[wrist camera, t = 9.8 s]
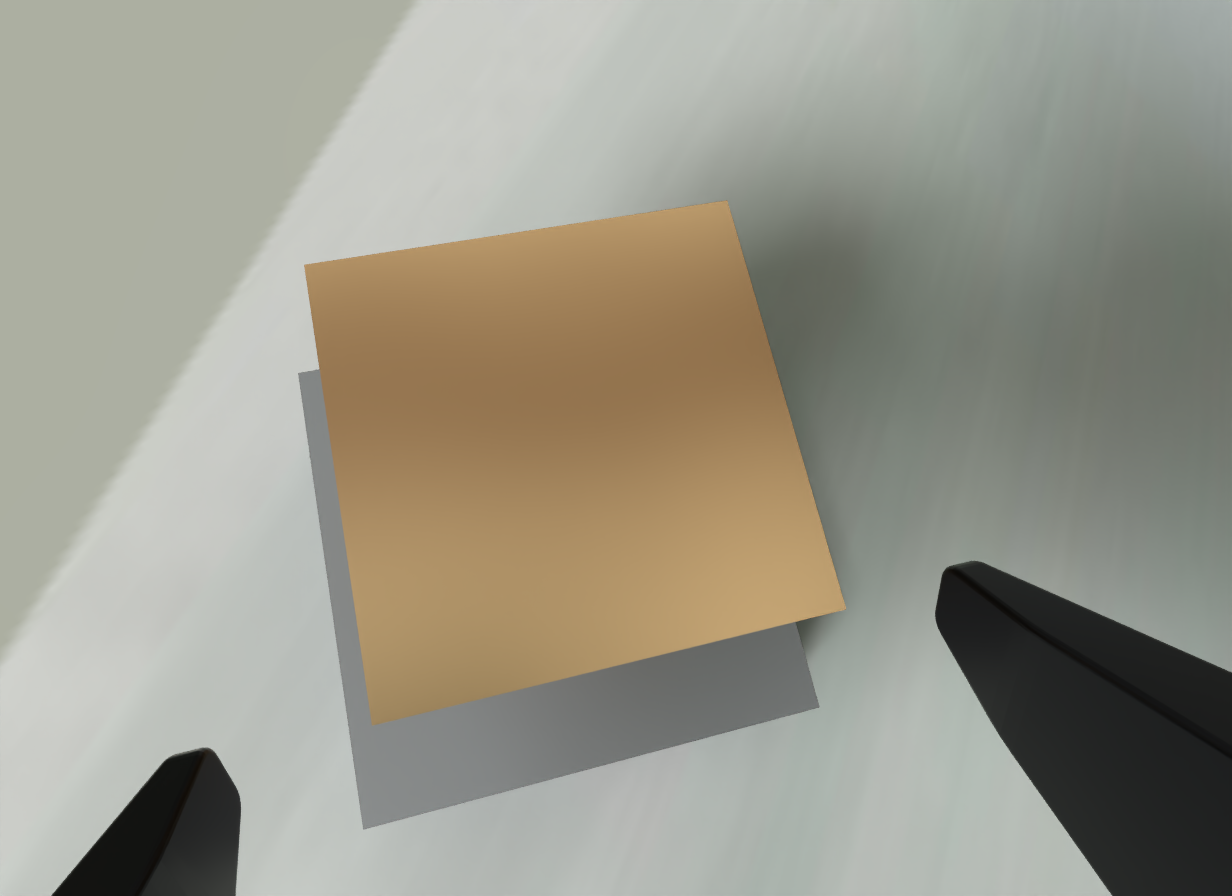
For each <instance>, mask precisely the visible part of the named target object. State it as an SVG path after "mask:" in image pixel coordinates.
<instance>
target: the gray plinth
mask: <svg viewBox="0 0 1232 896" xmlns="http://www.w3.org/2000/svg"><path fill="white" fill-rule="evenodd" d="M298 375H299V382H300V389H301V396H302V403H303V410H304V417H305V424H306V431H307V438H308V445H309V452H310V459H311V466H312V473H313V480H314V487H315V494H316V501H317V508H318V515H319V522H320V529H321V536H322V543H323V550H324V557H325V564H326V571H327V578H328V585H329V592H330V599H331V606H332V613H333V620H334V627H335V634H336V641H337V648H338V655H339V662H340V669H341V676H342V683H343V690H344V697H345V704H346V712H347V719H348V726H349V733H350V740H351V747H352V754H353V761H354V768H355V775H356V782H357V789H358V796H359V803H360V810H361V817H362V824H363V830H364V829H367V828H371V827H375V826H379V825H382V824H386V823H390V822H393V821H397V820H401V819H405V818H408V817H412V816H416V815H420V814H423V813H427V812H431V811H434V810H438V809H442V808H446V807H449V806H453V805H457V804H461V803H464V802H468V801H472V800H476V799H479V798H483V797H487V796H490V795H494V794H498V793H502V792H505V791H509V790H513V789H517V788H520V787H524V786H528V785H531V784H535V783H539V782H543V781H546V780H550V779H554V778H558V777H561V776H565V775H569V774H572V773H576V772H580V771H584V770H587V769H591V768H595V767H599V766H602V765H606V764H610V763H613V762H617V761H621V760H625V759H628V758H632V757H636V756H640V755H643V754H647V753H651V752H654V751H658V750H662V749H666V748H669V747H673V746H677V745H681V744H684V743H688V742H692V741H696V740H699V739H703V738H707V737H710V736H714V735H718V734H722V733H725V732H729V731H733V730H737V729H740V728H744V727H748V726H751V725H755V724H759V723H763V722H766V721H770V720H774V719H778V718H781V717H785V716H789V715H792V714H796V713H800V712H804V711H807V710H811V709H815V708H819V704H818V700H817V696H816V693H815V689H814V686H813V682H812V678H811V675H810V671H809V668H808V664H807V660H806V657H805V653H804V650H803V646H802V642H801V639H800V635H799V632H798V628H797V624H796V622H793V623H789V624H784V625H780V626H776V627H772V628H768V629H764V630H760V631H756V632H752V633H748V634H744V635H740V636H736V637H732V638H727V639H723V640H719V641H715V642H711V643H707V644H703V645H699V646H695V647H691V648H687V649H683V650H679V651H675V652H670V653H666V654H662V655H658V656H654V657H650V658H646V659H642V660H638V661H634V662H630V663H626V664H622V665H618V666H613V667H609V668H605V669H601V670H597V671H593V672H589V673H585V674H581V675H577V676H573V677H569V678H565V679H560V680H556V681H552V682H548V683H544V684H540V685H536V686H532V687H528V688H524V689H520V690H516V691H512V692H508V693H503V694H499V695H495V696H491V697H487V698H483V699H479V700H475V701H471V702H467V703H463V704H459V705H455V706H451V707H446V708H442V709H438V710H434V711H430V712H426V713H422V714H418V715H414V716H410V717H406V718H402V719H398V720H394V721H389V722H385V723H381V724H377V725H373V726H372V723H371V716H370V709H369V702H368V695H367V689H366V682H365V675H364V668H363V661H362V655H361V648H360V641H359V634H358V627H357V620H356V614H355V607H354V600H353V593H352V586H351V580H350V573H349V566H348V559H347V552H346V546H345V539H344V532H343V525H342V518H341V512H340V505H339V498H338V491H337V484H336V478H335V471H334V464H333V457H332V450H331V444H330V437H329V430H328V423H327V416H326V409H325V403H324V396H323V389H322V382H321V375H320V369H319V370H314V371H308V372H302V373H298Z"/></svg>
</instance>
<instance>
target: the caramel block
mask: <svg viewBox="0 0 1232 896" xmlns="http://www.w3.org/2000/svg"><path fill="white" fill-rule="evenodd" d="M304 267H305V273H306V280H307V287H308V294H309V301H310V307H311V314H312V321H313V328H314V335H315V341H316V348H317V355H318V362H319V369H320V375H321V382H322V389H323V396H324V403H325V409H326V416H327V423H328V430H329V437H330V444H331V450H332V457H333V464H334V471H335V478H336V484H337V491H338V498H339V505H340V512H341V518H342V525H343V532H344V539H345V546H346V552H347V559H348V566H349V573H350V580H351V586H352V593H353V600H354V607H355V614H356V620H357V627H358V634H359V641H360V648H361V655H362V661H363V668H364V675H365V682H366V689H367V695H368V702H369V709H370V716H371V723H372V726H373V725H377V724H381V723H385V722H389V721H394V720H398V719H402V718H406V717H410V716H414V715H418V714H422V713H426V712H430V711H434V710H438V709H442V708H446V707H451V706H455V705H459V704H463V703H467V702H471V701H475V700H479V699H483V698H487V697H491V696H495V695H499V694H503V693H508V692H512V691H516V690H520V689H524V688H528V687H532V686H536V685H540V684H544V683H548V682H552V681H556V680H560V679H565V678H569V677H573V676H577V675H581V674H585V673H589V672H593V671H597V670H601V669H605V668H609V667H613V666H618V665H622V664H626V663H630V662H634V661H638V660H642V659H646V658H650V657H654V656H658V655H662V654H666V653H670V652H675V651H679V650H683V649H687V648H691V647H695V646H699V645H703V644H707V643H711V642H715V641H719V640H723V639H727V638H732V637H736V636H740V635H744V634H748V633H752V632H756V631H760V630H764V629H768V628H772V627H776V626H780V625H784V624H789V623H793V622H797V621H801V620H805V619H809V618H813V617H817V616H821V615H825V614H829V613H833V612H837V611H841V610H846V606H845V603H844V600H843V596H842V593H841V589H840V586H839V582H838V579H837V576H836V572H835V569H834V565H833V562H832V558H831V555H830V551H829V548H828V545H827V541H826V538H825V534H824V531H823V527H822V524H821V521H820V517H819V514H818V510H817V507H816V503H815V500H814V497H813V493H812V490H811V486H810V483H809V479H808V476H807V473H806V469H805V466H804V462H803V459H802V455H801V452H800V448H799V445H798V442H797V438H796V435H795V431H794V428H793V424H792V421H791V418H790V414H789V411H788V407H787V404H786V400H785V397H784V394H783V390H782V387H781V383H780V380H779V376H778V373H777V369H776V366H775V363H774V359H773V356H772V352H771V349H770V345H769V342H768V339H767V335H766V332H765V328H764V325H763V321H762V318H761V315H760V311H759V308H758V304H757V301H756V297H755V294H754V290H753V287H752V284H751V280H750V277H749V273H748V270H747V266H746V263H745V260H744V256H743V253H742V249H741V246H740V242H739V239H738V236H737V232H736V229H735V225H734V222H733V218H732V215H731V211H730V208H729V205H728V201H720V202H714V203H707V204H700V205H694V206H687V207H681V208H674V209H668V210H661V211H654V212H648V213H641V214H635V215H628V216H622V217H615V218H609V219H602V220H595V221H589V222H582V223H576V224H569V225H563V226H556V227H549V228H543V229H536V230H530V231H523V232H517V233H510V234H504V235H497V236H490V237H484V238H477V239H471V240H464V241H458V242H451V243H445V244H438V245H431V246H425V247H418V248H412V249H405V250H399V251H392V252H385V253H379V254H372V255H366V256H359V257H353V258H346V259H340V260H333V261H326V262H320V263H313V264H307V265H304Z"/></svg>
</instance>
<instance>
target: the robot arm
mask: <svg viewBox="0 0 1232 896" xmlns="http://www.w3.org/2000/svg"><path fill="white" fill-rule="evenodd" d="M935 617H936V623H937V626H938V629H939V631H940V633H941V635H942V637H943V638H944V640H945V642H946V644H947V645H948V647H949V649H950V651H951V652H952V654H953V656H954V658H955V659H956V661H957V663H958V665H959V666H960V668H961V670H962V672H963V673H964V675H965V677H966V679H967V681H968V682H969V684H970V686H971V688H972V689H973V691H974V693H975V695H976V696H977V698H978V700H979V702H980V703H981V705H982V707H983V709H984V710H985V712H986V714H987V716H988V717H989V719H990V721H991V722H992V724H993V726H994V727H995V729H996V731H997V732H998V734H999V736H1000V737H1001V739H1002V740H1003V741H1004V743H1005V744H1006V746H1007V747H1008V749H1009V750H1010V752H1011V753H1012V755H1013V756H1014V758H1015V759H1016V760H1017V762H1018V763H1019V765H1020V766H1021V767H1022V769H1023V770H1024V772H1025V773H1026V774H1027V776H1028V777H1029V779H1030V780H1031V782H1032V783H1033V784H1034V786H1035V787H1036V789H1037V790H1038V791H1039V793H1040V794H1041V796H1042V797H1043V799H1044V800H1045V801H1046V803H1047V804H1048V806H1049V807H1050V808H1051V810H1052V811H1053V813H1054V814H1055V815H1056V817H1057V818H1058V820H1059V821H1060V823H1061V824H1062V825H1063V827H1064V828H1065V830H1066V831H1067V832H1068V834H1069V835H1070V837H1071V838H1072V840H1073V841H1074V842H1075V844H1076V845H1077V847H1078V848H1079V849H1080V851H1081V852H1082V854H1083V855H1084V857H1085V858H1086V859H1087V861H1088V862H1089V864H1090V865H1091V866H1092V868H1093V869H1094V871H1095V872H1096V873H1097V875H1098V876H1099V878H1100V879H1101V881H1102V882H1103V883H1104V885H1105V886H1106V888H1107V889H1108V890H1109V892H1110V893H1111V895H1112V896H1232V673H1231V672H1229V671H1227V670H1225V669H1222V668H1220V667H1218V666H1216V665H1213V664H1211V663H1209V662H1206V661H1204V660H1202V659H1200V658H1197V657H1195V656H1193V655H1191V654H1188V653H1186V652H1184V651H1182V650H1179V649H1177V648H1175V647H1173V646H1170V645H1168V644H1166V643H1164V642H1161V641H1159V640H1157V639H1154V638H1152V637H1150V636H1148V635H1145V634H1143V633H1141V632H1139V631H1136V630H1134V629H1132V628H1130V627H1127V626H1125V625H1123V624H1121V623H1118V622H1116V621H1114V620H1112V619H1109V618H1107V617H1105V616H1102V615H1100V614H1098V613H1096V612H1093V611H1091V610H1089V609H1087V608H1084V607H1082V606H1080V605H1078V604H1075V603H1073V602H1071V601H1069V600H1066V599H1064V598H1062V597H1060V596H1057V595H1055V594H1053V593H1050V592H1048V591H1046V590H1044V589H1041V588H1039V587H1037V586H1035V585H1032V584H1030V583H1028V582H1026V581H1023V580H1021V579H1019V578H1017V577H1014V576H1012V575H1010V574H1008V573H1005V572H1003V571H1001V570H998V569H996V568H994V567H992V566H989V565H987V564H985V563H982V562H979V561H969V562H964V563H960V564H956V565H952V566H949V567H947V568H946V569H945V571H944V572H943V574H942V578H941V584H940V589H939V594H938V600H937V605H936V610H935ZM240 819H241V802H240V796H239V793H238V790H237V788H236V786H235V785H234V783H233V781H232V780H231V778H230V776H229V775H228V773H227V771H226V770H225V768H224V766H223V765H222V763H221V761H220V759H219V758H218V756H217V755H216V753H215V752H214V751H213V750H212V749H210V748H199V749H195V750H191V751H187V752H183V753H179V754H175V755H172V756H171V757H169V758H168V759H166V760H165V761H164V762H163V763H162V764H161V765H160V766H159V768H158V769H157V770H156V771H155V772H154V774H153V775H152V776H151V777H150V778H149V780H148V781H147V782H146V783H145V784H144V786H143V787H142V788H141V789H140V790H139V792H138V793H137V794H136V795H135V796H134V798H133V799H132V800H131V801H130V802H129V803H128V805H127V806H126V807H125V808H124V809H123V811H122V812H121V813H120V814H119V815H118V817H117V818H116V819H115V820H114V821H113V823H112V824H111V825H110V826H109V827H108V829H107V830H106V831H105V832H104V833H103V835H102V836H101V837H100V838H99V839H98V841H97V842H96V843H95V844H94V845H93V846H92V848H91V849H90V850H89V851H88V852H87V854H86V855H85V856H84V857H83V858H82V860H81V861H80V862H79V863H78V864H77V866H76V867H75V868H74V869H73V870H72V872H71V873H70V874H69V875H68V876H67V878H66V879H65V880H64V881H63V882H62V883H61V885H60V886H59V887H58V888H57V889H56V891H55V892H54V893H53V894H52V895H51V896H236V880H237V865H238V849H239V834H240Z"/></svg>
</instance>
